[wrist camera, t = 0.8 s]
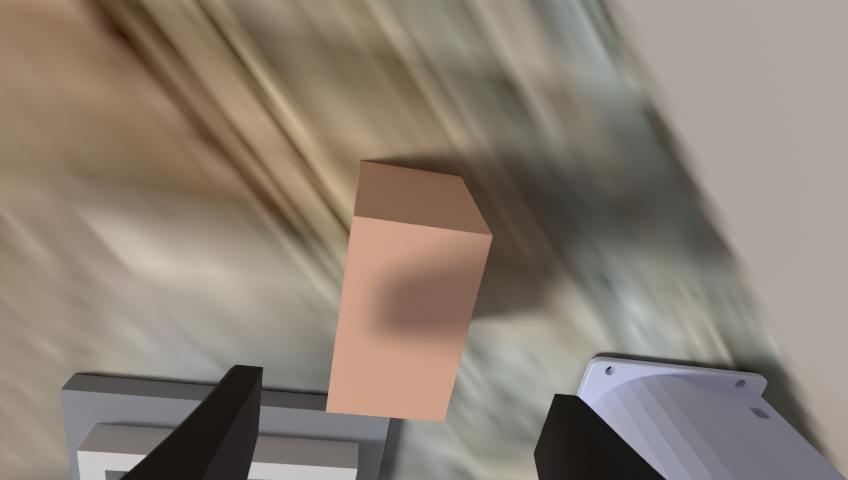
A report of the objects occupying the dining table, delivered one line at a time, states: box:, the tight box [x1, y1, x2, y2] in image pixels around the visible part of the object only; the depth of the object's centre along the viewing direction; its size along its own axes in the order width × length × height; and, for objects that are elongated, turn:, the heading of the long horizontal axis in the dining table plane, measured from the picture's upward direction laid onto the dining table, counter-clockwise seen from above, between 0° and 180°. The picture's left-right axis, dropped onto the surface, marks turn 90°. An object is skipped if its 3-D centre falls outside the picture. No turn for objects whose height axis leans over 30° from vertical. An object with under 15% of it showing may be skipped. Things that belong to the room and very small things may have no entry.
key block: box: [326, 160, 493, 422], centre depth 18 cm, size 4×7×6 cm, turn 169°
